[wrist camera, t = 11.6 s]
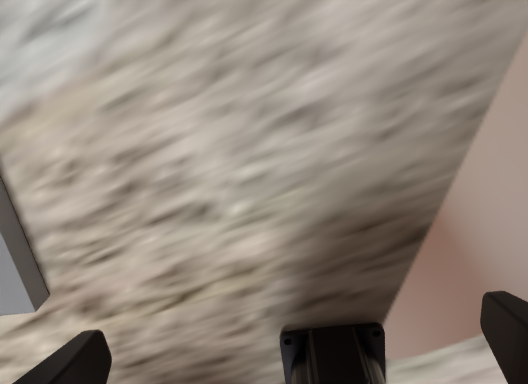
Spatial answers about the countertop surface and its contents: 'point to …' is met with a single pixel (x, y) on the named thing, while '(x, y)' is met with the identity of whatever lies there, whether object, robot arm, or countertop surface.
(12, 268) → the gear board
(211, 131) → the countertop surface
